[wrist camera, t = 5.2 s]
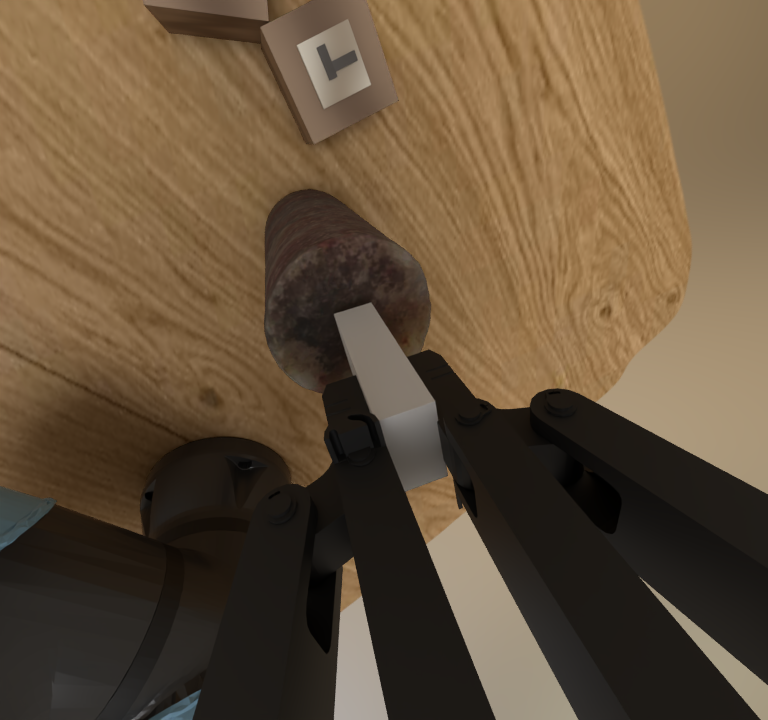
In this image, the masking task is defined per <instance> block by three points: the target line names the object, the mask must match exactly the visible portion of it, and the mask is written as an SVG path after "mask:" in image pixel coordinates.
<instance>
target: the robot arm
mask: <svg viewBox="0 0 768 720" xmlns="http://www.w3.org/2000/svg"><path fill="white" fill-rule="evenodd" d="M334 317H335V320H336V323H337V326H338V329H339V333H340V336H341V339H342V342H343V345H344V349H345V352H346V355H347V358H348V361H349V365H350V368H351V371H352V374H353V376H351V377H348V378H345V379H342V380H339V381H336V382H333V383H330V384H327V385H326V387H325V389H324V392H323V395H322V398H323V403H324V407H325V412H326V416H327V421H328V427H327V429H326V430H325V433H324V441H325V444H326V446H327V449H328V451H329V453H330V456H331V458H332V463H331V465H330V467H329V469H328V470H327V471H326V472H325V473H324V474H323V475H322V476H321V477H320V478H319V479H317V480H316V481H314V482H313V483H312V484H310V485H309V486H307V487H306V488H304V487H302V486H300V485H298V484H291V477H290V472H289V470H288V467H287V466H286V464H285V462H284V461H283V460H282V459H281V457H280V456H278V455H277V454H276V453H275V452H274V451H272V450H271V449H269V448H267V447H265V446H263V445H261V444H259V443H256V442H253V441H249V440H245V439H239V438H227V437H222V438H209V439H203V440H199V441H195V442H192V443H189V444H186V445H183V446H181V447H179V448H177V449H175V450H173V451H171V452H170V453H168V454H167V455H165V456H164V457H163V458H162V459H161V460H160V461H159V462H157V464H156V465H155V466H154V467H153V469H152V470H151V472H150V473H149V475H148V478H147V480H146V483H145V486H144V489H143V492H142V495H141V500H140V514H141V523H142V532H143V535H141V534H138V533H135V532H132V531H129V530H127V529H124V528H121V527H118V526H115V525H112V524H110V523H107V522H104V521H101V520H98V519H95V518H93V517H90V516H87V515H84V514H81V513H78V512H76V511H73V510H70V509H67V508H64V507H62V506H59V505H56V504H55V503H56V502H57V500H55V499H52V498H44V499H41V498H38V497H35V496H31V495H28V494H25V493H21V492H18V491H15V490H11V489H8V488H5V487H1V486H0V720H334V706H335V689H336V672H337V656H338V637H339V621H340V605H341V588H342V572H343V566H342V565H344V564H345V563H346V562H347V561H349V560H350V559H351V558H352V557H354V560H355V565H356V570H357V574H358V579H359V584H360V588H361V593H362V598H363V602H364V607H365V612H366V616H367V621H368V626H369V631H370V635H371V640H372V645H373V649H374V654H375V659H376V663H377V667H378V672H379V677H380V682H381V687H382V691H383V696H384V701H385V705H386V710H387V714H388V720H496V719H495V716H494V714H493V712H492V709H491V706H490V704H489V701H488V699H487V696H486V694H485V691H484V689H483V687H482V684H481V681H480V679H479V676H478V674H477V671H476V669H475V666H474V664H473V661H472V659H471V656H470V654H469V651H468V649H467V646H466V644H465V641H464V639H463V636H462V634H461V631H460V629H459V626H458V624H457V621H456V619H455V617H454V614H453V611H452V609H451V606H450V604H449V601H448V599H447V597H446V594H445V591H444V589H443V586H442V584H441V581H440V579H439V576H438V574H437V571H436V569H435V566H434V564H433V561H432V559H431V556H430V554H429V551H428V548H427V546H426V543H425V541H424V538H423V536H422V533H421V531H420V528H419V526H418V523H417V521H416V518H415V516H414V513H413V511H412V508H411V506H410V503H409V501H408V498H407V496H406V493H405V492H406V491H408V490H411V489H414V488H416V487H419V486H422V485H424V484H427V483H430V482H432V481H435V480H438V479H440V478H443V477H446V476H448V473H447V468H446V465H447V467H448V469H449V470H450V472H451V474H452V476H453V480H454V486H455V493H456V499H457V504H458V507H459V509H461V508H463V506H462V503H463V505H464V507H465V509H466V511H467V513H468V515H469V516H470V518H471V520H472V522H473V524H474V525H475V528H476V529H477V531H478V533H479V535H480V537H481V539H482V541H483V543H484V544H485V546H486V548H487V550H488V552H489V554H490V556H491V557H492V559H493V561H494V563H495V565H496V567H497V569H498V571H499V572H500V574H501V576H502V578H503V580H504V582H505V584H506V585H507V587H508V589H509V591H510V593H511V595H512V596H513V598H514V600H515V602H516V604H517V606H518V608H519V610H520V611H521V613H522V615H523V617H524V619H525V621H526V623H527V624H528V626H529V628H530V630H531V632H532V634H533V636H534V637H535V639H536V641H537V643H538V645H539V647H540V649H541V651H542V653H543V654H544V656H545V658H546V660H547V662H548V664H549V665H550V667H551V669H552V671H553V673H554V675H555V677H556V678H557V680H558V682H559V684H560V686H561V688H562V690H563V691H564V693H565V695H566V697H567V699H568V701H569V703H570V705H571V706H572V708H573V710H574V712H575V714H576V716H577V718H578V719H579V720H760V719H759V717H758V716H757V715H756V714H755V713H754V711H753V710H752V709H751V708H750V707H749V706H748V704H747V703H746V702H745V701H744V700H743V698H742V697H741V696H740V695H739V694H738V693H737V692H736V690H735V689H734V688H733V687H732V686H731V684H730V683H729V682H728V681H727V680H726V678H725V677H724V676H723V675H722V674H721V673H720V671H719V670H718V669H717V668H716V667H715V666H714V664H713V663H712V662H711V661H710V660H709V659H708V657H707V656H706V655H705V654H704V653H703V651H702V650H701V649H700V648H699V647H698V646H697V645H696V643H695V642H694V641H693V640H692V639H691V637H690V636H689V635H688V634H687V633H686V631H685V630H684V629H683V628H682V627H681V626H680V624H679V623H678V622H677V621H676V620H675V619H674V617H673V616H672V615H671V614H670V613H669V612H668V610H667V609H666V608H665V607H664V606H663V605H662V603H661V602H660V601H659V600H658V599H657V598H656V596H655V595H654V594H653V593H652V591H651V590H650V589H649V588H648V587H647V586H646V584H645V583H644V582H643V581H642V580H641V579H640V577H641V578H642V579H643V580H644V581H645V582H647V583H648V584H649V585H650V586H651V587H652V588H654V589H655V590H656V591H657V592H658V593H659V594H661V595H662V596H663V597H664V598H665V599H666V600H668V601H669V602H670V603H671V604H672V605H674V606H675V607H676V608H677V609H678V610H680V611H681V612H682V613H683V614H684V615H686V616H687V617H688V618H689V619H690V620H691V621H692V622H694V623H695V624H696V625H697V626H698V627H700V628H701V629H702V630H703V631H704V632H706V633H707V634H708V635H709V636H710V637H711V638H713V639H714V640H715V641H716V642H717V643H719V644H720V645H721V646H722V647H723V648H725V649H726V650H727V651H728V652H729V653H730V654H732V655H733V656H734V657H735V658H736V659H737V660H739V661H740V662H741V663H742V664H743V665H745V666H746V667H747V668H748V669H749V670H750V671H752V672H753V673H754V674H756V676H758V677H759V678H760V679H761V680H763V682H765V683H766V684H767V685H768V494H766V493H764V492H762V491H760V490H759V489H757V488H755V487H753V486H751V485H749V484H747V483H745V482H744V481H742V480H740V479H738V478H736V477H734V476H732V475H730V474H729V473H727V472H725V471H723V470H721V469H719V468H717V467H715V466H714V465H712V464H710V463H708V462H706V461H704V460H702V459H700V458H699V457H697V456H695V455H693V454H691V453H689V452H687V451H685V450H684V449H682V448H680V447H678V446H676V445H674V444H672V443H670V442H668V441H667V440H665V439H663V438H661V437H659V436H657V435H655V434H654V433H652V432H650V431H648V430H646V429H644V428H642V427H640V426H639V425H637V424H635V423H633V422H631V421H629V420H627V419H625V418H624V417H622V416H620V415H618V414H616V413H614V412H612V411H610V410H609V409H607V408H605V407H603V406H601V405H599V404H597V403H595V402H594V401H592V400H590V399H588V398H586V397H584V396H582V395H580V394H578V393H576V392H573V391H570V390H566V389H558V388H557V389H547V390H544V391H542V392H539V393H537V394H536V395H535V396H534V397H533V398H532V400H531V403H530V407H527V408H517V409H496V408H495V407H494V406H493V405H491V404H490V403H489V402H487V401H484V400H481V399H477V398H475V397H474V395H473V394H472V393H471V392H470V391H469V389H468V388H467V387H466V386H465V384H464V383H463V382H462V381H461V379H460V378H459V377H458V376H457V375H456V373H454V371H453V370H452V368H451V367H450V366H448V363H447V362H446V361H445V360H444V359H443V357H442V356H441V355H439V354H437V353H435V352H433V351H431V350H426V351H423V352H420V353H417V354H414V355H411V356H408V357H406V356H405V354H404V352H403V351H402V349H401V348H400V346H399V345H398V343H397V342H396V340H395V339H394V337H393V335H392V334H391V332H390V331H389V329H388V328H387V326H386V325H385V323H384V322H383V320H382V318H381V317H380V315H379V314H378V312H377V311H376V309H375V308H374V306H373V305H372V303H368V304H365V305H361V306H358V307H355V308H352V309H348V310H345V311H342V312H339V313H336V314H334Z"/></svg>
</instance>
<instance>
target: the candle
mask: <svg viewBox="0 0 768 720" xmlns="http://www.w3.org/2000/svg"><path fill="white" fill-rule="evenodd" d="M265 266H266V268H265V272H266V273H265V318H264V327H265V335H266V340H267V344H268V346H269V349H270V351H271V353H272V355H273V357H274V359H275V361H276V363H277V364H278V366H279V367H280V368H281V369H282V370H283V371H284V372H285V374H286V375H287V376H289V377H290V378H291V379H292V380H293V381H294V382H296V383H297V384H299V385H300V386H302V387H304V388H306V389H309V390H313V391H316V392H319V393H322V394H323V392H324V389H325V387H326V385H327V384H330V383H333V382H336V381H339V380H342V379H345V378H348V377H351V376H353V374H352V371H351V368H350V365H349V361H348V358H347V355H346V352H345V349H344V345H343V342H342V339H341V336H340V333H339V329H338V326H337V323H336V320H335V317H334V314H336V313H339V312H342V311H345V310H348V309H352V308H355V307H358V306H361V305H365V304H368V303H372V305H373V306H374V308H375V309H376V311H377V312H378V314H379V315H380V317H381V318H382V320H383V322H384V323H385V325H386V326H387V328H388V329H389V331H390V332H391V334H392V335H393V337H394V339H395V340H396V342H397V343H398V345H399V346H400V348H401V349H402V351H403V352H404V354H405V356H406V357H408V356H411V355H414V354H417V353H420V352H421V350H422V347H423V345H424V340H425V337H426V334H427V332H428V328H429V324H430V313H431V303H430V300H429V291H428V287H427V281H426V278H425V276H424V273H423V270H422V268H421V266H420V264H419V263H418V262H417V261H416V260H415V259H414V258H413V257H412V255H411V254H410V253H408V252H407V251H406V250H405V249H404V248H402V247H401V246H400V245H398V244H397V243H395V242H394V241H392V240H390V239H389V238H387V237H386V236H385V235H384V234H382V233H381V232H380V231H379V230H377V229H376V228H374V227H373V226H372V225H370V224H369V223H368V222H367V221H365V220H364V219H363V218H361V217H360V216H359V215H357V214H356V213H355V212H354V211H352V210H351V209H350V208H348V207H347V206H346V205H345V204H343V203H342V202H340V201H339V200H337V199H336V198H334V197H333V196H331V195H329V194H327V193H325V192H321V191H318V190H311V189H308V190H301V191H297V192H293V193H291V194H289V195H287V196H286V197H284V198H283V199H281V200H280V201H279V202H278V203H277V204H276V205H275V206H274V208H273V209H272V211H271V212H270V214H269V217H268V219H267V222H266V227H265Z"/></svg>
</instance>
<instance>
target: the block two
mask: <svg viewBox="0 0 768 720" xmlns="http://www.w3.org/2000/svg"><path fill="white" fill-rule="evenodd" d="M260 31H261V49H262V51H263V53H264V56H265V58H266V60H267V62H268V64H269V66H270V68H271V70H272V73H273V75H274V77H275V79H276V81H277V83H278V85H279V88H280V90H281V92H282V94H283V96H284V98H285V100H286V102H287V105H288V107H289V109H290V111H291V113H292V115H293V117H294V119H295V122H296V124H297V126H298V128H299V130H300V132H301V134H302V136H303V139H304V141H305V143H306V144H316V143H318V142H320V141H322V140H324V139H325V138H327V137H329V136H331V135H333V134H335V133H337V132H339V131H341V130H343V129H345V128H347V127H349V126H351V125H353V124H354V123H356V122H358V121H360V120H362V119H364V118H366V117H368V116H370V115H372V114H374V113H376V112H378V111H380V110H382V109H384V108H385V107H387V106H389V105H391V104H393V103H395V102H397V101H399V100H398V97H397V94H396V91H395V88H394V84H393V81H392V78H391V75H390V72H389V69H388V66H387V63H386V60H385V57H384V53H383V50H382V47H381V44H380V41H379V38H378V35H377V32H376V29H375V25H374V22H373V19H372V16H371V13H370V10H369V7H368V4H367V1H366V0H312V1H310V2H308V3H306V4H304V5H302V6H300V7H298V8H297V9H295V10H293V11H291V12H289V13H287V14H285V15H283V16H281V17H279V18H277V19H275V20H273V21H271V22H269V23H267V24H265V25H263V26H261V27H260Z"/></svg>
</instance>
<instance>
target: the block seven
mask: <svg viewBox="0 0 768 720" xmlns="http://www.w3.org/2000/svg"><path fill="white" fill-rule="evenodd" d="M143 3H144V5H145V7H146V8H147V9H148V10H149V11H150V12H151V13H152V14H153V15H154V16H155V18H156V19H157V20H158V21H159V22H160V23H161V24H162V25H163V26H164V28H165V29H166V30H167V31H168V32H169V33H175V34H183V35H192V36H200V37H209V38H217V39H226V40H234V41H243V42H251V43H259V44H261V31H260V27H261V26H263V25H265V24H267V23H269V19H268V6H267V0H143Z"/></svg>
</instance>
